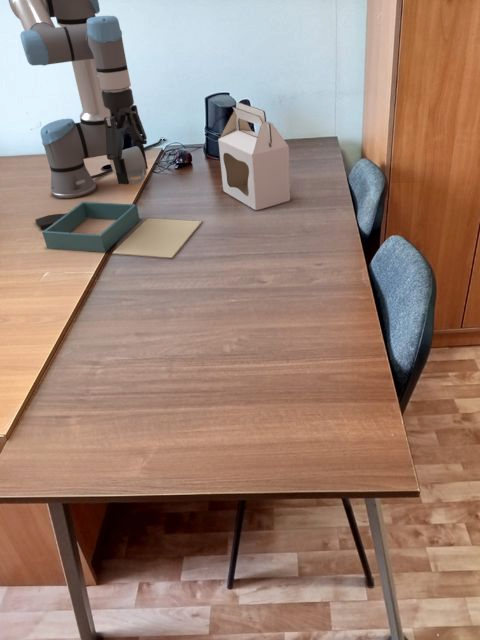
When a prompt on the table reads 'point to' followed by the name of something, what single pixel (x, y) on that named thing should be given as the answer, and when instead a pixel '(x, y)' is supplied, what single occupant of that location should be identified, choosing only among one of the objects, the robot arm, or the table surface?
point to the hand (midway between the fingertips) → (133, 176)
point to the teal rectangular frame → (62, 239)
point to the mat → (158, 238)
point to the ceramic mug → (133, 164)
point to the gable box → (254, 160)
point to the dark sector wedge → (48, 220)
